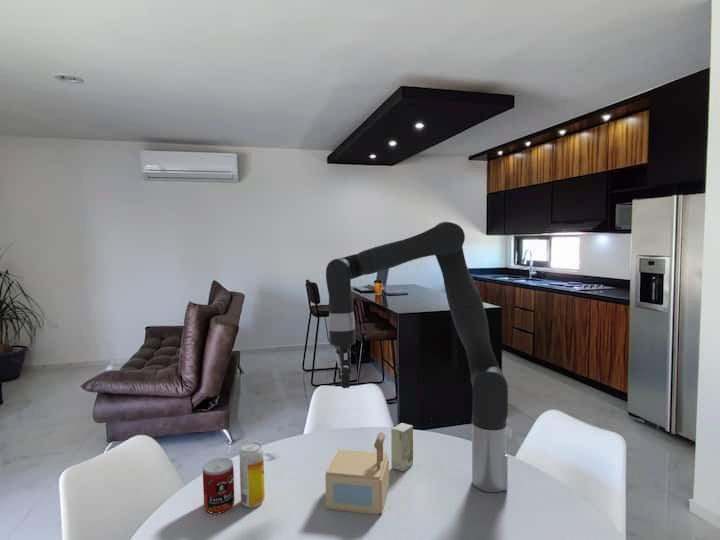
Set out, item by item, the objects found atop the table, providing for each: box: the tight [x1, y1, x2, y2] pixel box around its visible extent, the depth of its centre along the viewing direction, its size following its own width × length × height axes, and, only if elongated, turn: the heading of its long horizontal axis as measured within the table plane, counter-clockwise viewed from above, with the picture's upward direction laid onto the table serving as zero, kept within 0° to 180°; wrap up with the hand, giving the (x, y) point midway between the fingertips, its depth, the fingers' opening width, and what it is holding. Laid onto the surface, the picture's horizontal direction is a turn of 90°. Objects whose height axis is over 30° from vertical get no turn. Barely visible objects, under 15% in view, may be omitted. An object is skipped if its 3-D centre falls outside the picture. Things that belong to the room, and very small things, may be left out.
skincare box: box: [390, 422, 414, 472], centre depth 133 cm, size 6×4×12 cm
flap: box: [325, 432, 388, 479], centre depth 116 cm, size 14×13×8 cm
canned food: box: [202, 457, 235, 513], centre depth 114 cm, size 8×8×11 cm
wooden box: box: [324, 455, 390, 516], centre depth 117 cm, size 15×13×9 cm
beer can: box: [239, 442, 265, 509], centre depth 115 cm, size 6×6×15 cm
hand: (344, 383), depth 126 cm, fingers open, 8 cm apart
